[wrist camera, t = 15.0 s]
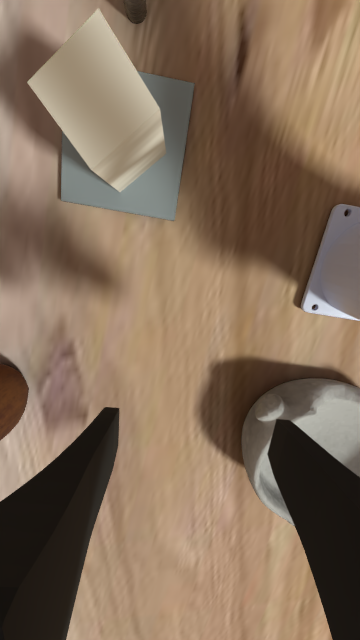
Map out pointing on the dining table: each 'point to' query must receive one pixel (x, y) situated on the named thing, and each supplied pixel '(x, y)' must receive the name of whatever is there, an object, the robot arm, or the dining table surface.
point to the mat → (156, 182)
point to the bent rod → (135, 10)
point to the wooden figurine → (11, 398)
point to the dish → (310, 416)
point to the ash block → (102, 104)
